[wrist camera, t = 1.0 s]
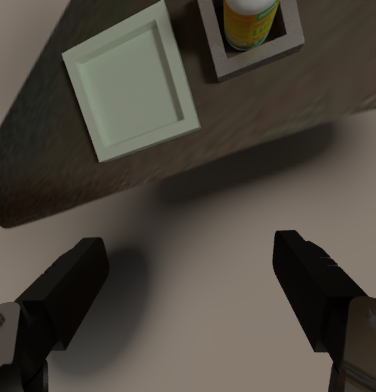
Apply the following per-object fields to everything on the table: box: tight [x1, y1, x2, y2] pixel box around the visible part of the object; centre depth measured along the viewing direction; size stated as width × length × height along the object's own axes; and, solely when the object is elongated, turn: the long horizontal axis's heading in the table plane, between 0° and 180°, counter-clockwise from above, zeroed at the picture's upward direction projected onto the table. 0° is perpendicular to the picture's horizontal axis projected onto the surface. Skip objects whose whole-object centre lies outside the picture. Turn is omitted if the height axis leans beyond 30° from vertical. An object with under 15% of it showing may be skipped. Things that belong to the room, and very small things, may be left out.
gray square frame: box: [197, 0, 305, 83], centre depth 23 cm, size 10×10×2 cm
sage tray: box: [62, 0, 201, 162], centre depth 27 cm, size 15×15×2 cm
